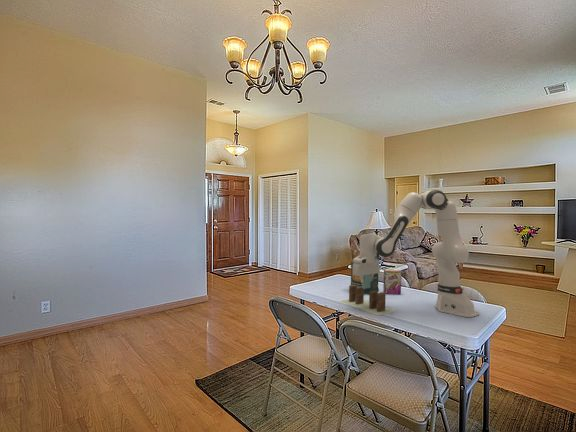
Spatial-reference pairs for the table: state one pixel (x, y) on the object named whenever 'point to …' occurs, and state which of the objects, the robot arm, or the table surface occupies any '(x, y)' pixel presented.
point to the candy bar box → (392, 281)
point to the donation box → (357, 281)
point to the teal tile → (366, 281)
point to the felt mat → (367, 307)
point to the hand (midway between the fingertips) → (366, 281)
